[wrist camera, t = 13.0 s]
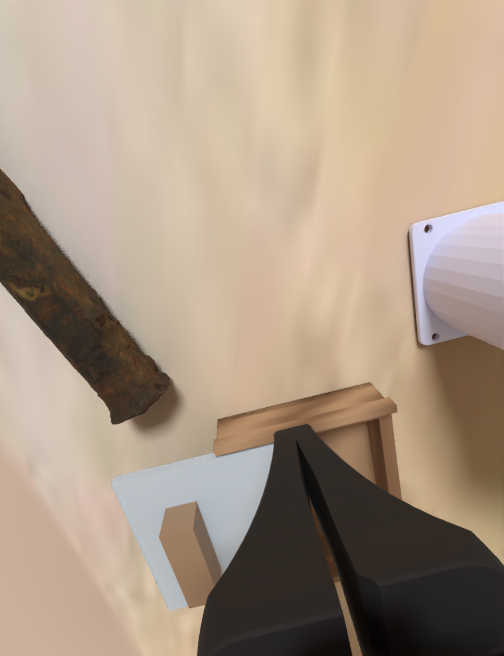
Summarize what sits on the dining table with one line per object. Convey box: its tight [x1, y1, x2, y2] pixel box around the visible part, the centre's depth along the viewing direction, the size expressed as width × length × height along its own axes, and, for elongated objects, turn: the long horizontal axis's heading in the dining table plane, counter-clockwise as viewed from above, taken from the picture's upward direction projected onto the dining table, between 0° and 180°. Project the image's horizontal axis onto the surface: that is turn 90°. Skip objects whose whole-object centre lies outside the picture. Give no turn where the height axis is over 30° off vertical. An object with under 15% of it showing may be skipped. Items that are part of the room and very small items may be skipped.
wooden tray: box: [213, 382, 402, 582], centre depth 23 cm, size 11×13×4 cm
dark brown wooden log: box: [0, 169, 169, 425], centre depth 17 cm, size 19×4×5 cm, turn 29°
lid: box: [111, 442, 274, 611], centre depth 21 cm, size 11×11×3 cm
